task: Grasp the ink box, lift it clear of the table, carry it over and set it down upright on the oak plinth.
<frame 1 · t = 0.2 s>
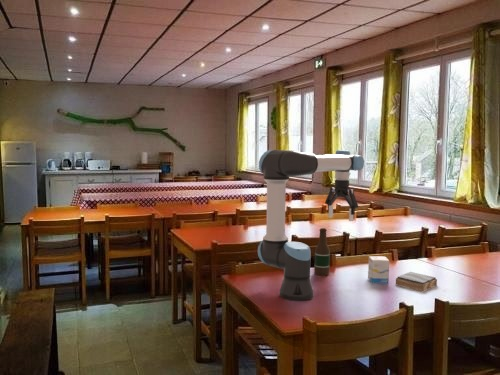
hand: (340, 219, 249), 28 cm above the table, fingers open, 13 cm apart
ink box: (378, 281, 233), on the table
plinth: (416, 285, 227), on the table
beer bottle: (321, 274, 244), on the table
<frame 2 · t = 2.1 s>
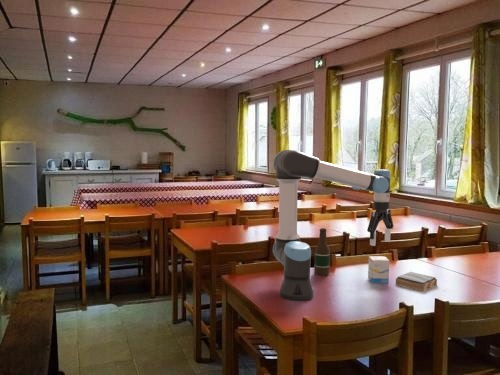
hand: (380, 243, 231), 19 cm above the table, fingers open, 13 cm apart
nothing on the table moved.
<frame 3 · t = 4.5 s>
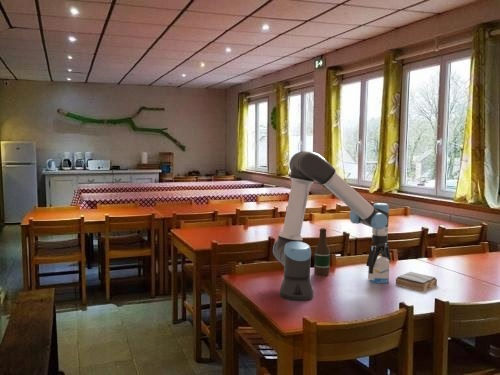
hand: (378, 277, 233), 2 cm above the table, fingers closed on ink box, 11 cm apart
ink box: (378, 281, 233), on the table, touching gripper
everything else where it was.
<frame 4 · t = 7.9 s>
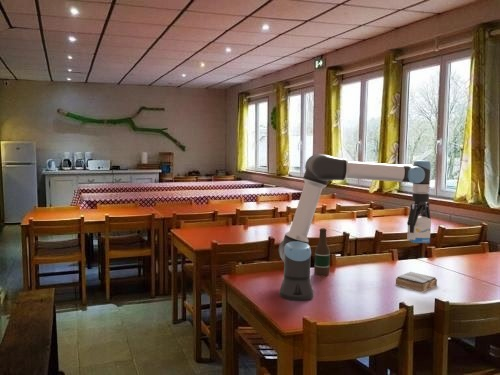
hand: (418, 237, 225), 23 cm above the table, fingers closed on ink box, 11 cm apart
ink box: (418, 241, 225), point 21 cm above the table, touching gripper
everything else where it was.
when the fingers open (7 cm above the table, at t = 11.8 s): ink box drops 1 cm, resting on plinth.
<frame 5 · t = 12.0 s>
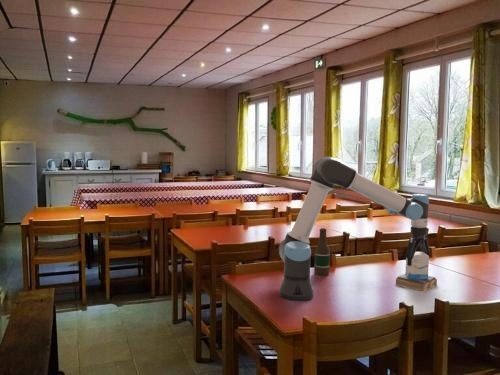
hand: (416, 269, 226), 8 cm above the table, fingers open, 13 cm apart
ink box: (416, 277, 227), point 4 cm above the table, touching plinth
everything else where it was.
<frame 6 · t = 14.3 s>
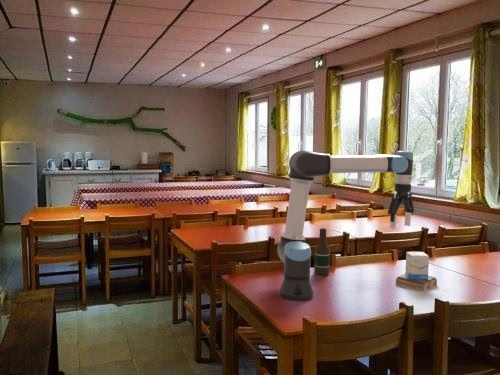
hand: (400, 227, 226), 28 cm above the table, fingers open, 13 cm apart
nothing on the table moved.
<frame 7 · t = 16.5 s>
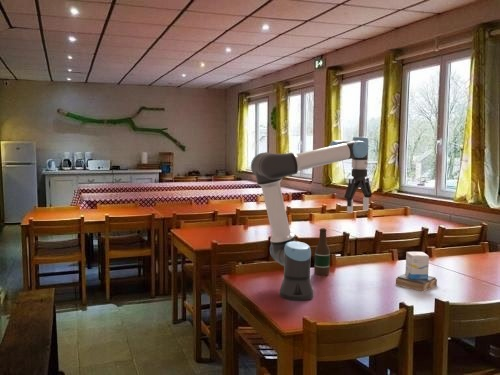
hand: (357, 211, 230), 35 cm above the table, fingers open, 13 cm apart
nothing on the table moved.
at the end: ink box inside the target area on the plinth (0.1 cm from its centre), point 3.8 cm above the plinth's base; ink box tilted 0°; the gripper is holding nothing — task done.
